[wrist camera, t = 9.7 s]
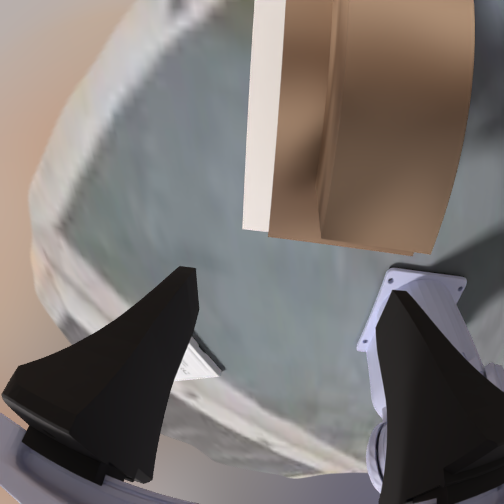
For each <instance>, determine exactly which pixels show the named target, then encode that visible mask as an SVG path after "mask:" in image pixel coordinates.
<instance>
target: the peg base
mask: <svg viewBox="0 0 504 504" xmlns="http://www.w3.org/2000/svg"><path fill="white" fill-rule="evenodd" d="M285 5H286V0H255V5H254V20H253V36H252V53H251V70H250V88H249V106H248V125H247V144H246V165H245V186H244V208H243V229H247V230H256V231H264V232H269V221H270V209H271V198H272V186H273V174H274V162H275V150H276V137H277V124H278V111H279V97H280V83H281V69H282V54H283V39H284V22H285Z"/></svg>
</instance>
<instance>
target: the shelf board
mask: <svg viewBox="0 0 504 504" xmlns="http://www.w3.org/2000/svg"><path fill="white" fill-rule="evenodd" d="M474 46H475V19H474V0H286V5H285V22H284V39H283V54H282V69H281V83H280V97H279V111H278V124H277V137H276V150H275V162H274V174H273V186H272V198H271V209H270V221H269V232H268V237H274V238H282V239H290V240H298V241H305V242H313V243H321V244H328V245H336V246H343V247H351V248H358V249H365V250H372V251H380V252H387V253H394V254H401V255H408V256H413V253H414V252H417V253H424V254H430V255H431V252H432V249H433V247H434V244H435V241H436V238H437V236H438V233H439V230H440V227H441V224H442V221H443V218H444V215H445V212H446V208H447V205H448V202H449V198H450V195H451V191H452V188H453V184H454V180H455V176H456V173H457V168H458V164H459V160H460V156H461V151H462V146H463V141H464V136H465V131H466V125H467V119H468V113H469V106H470V98H471V90H472V80H473V67H474Z"/></svg>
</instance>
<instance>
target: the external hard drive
mask: <svg viewBox="0 0 504 504" xmlns="http://www.w3.org/2000/svg"><path fill="white" fill-rule="evenodd" d="M198 345H199V344H198V343H197V342H196V341H195V339H194V338H193V337H191V339H190V342H189V344H188V347H187V349H186V352H185V354H184V357H183V359H182V362H181V364H180V367H179V369H178V372H177V374H176V377H175V379H174V381H181V380H191V379H201V378H209V377H218V376H221V372H222V371H221V369H220V368H219V367H218V366H217V365H216V364H215V363H214V362H213V360H212V359H211V358H210V357H209V356H208V355H207V354H206V353H204V352H203V351H202V350H201V349H200V348H199V346H198Z"/></svg>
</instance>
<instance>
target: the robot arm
mask: <svg viewBox="0 0 504 504" xmlns="http://www.w3.org/2000/svg"><path fill="white" fill-rule="evenodd" d="M390 278H393V279H392V280H390V281H388V280H389V279H390ZM466 285H467V280H466V278H465V277H460V276H453V275H445V274H438V273H430V272H422V271H415V270H407V269H400V268H390V269H388V270H387V272H386V274H385V277H384V280H383V283H382V285H381V288H380V291H379V293H378V296H377V298H376V301H375V304H374V306H373V309H372V311H371V313H370V316H369V318H368V321H367V323H366V325H365V328H364V330H363V332H362V335H361V337H360V339H359V341H358V343H357V346H356V347H357V350H358V351H362V352H366V354H367V362H368V370H369V378H370V387H371V397H372V403H373V406H374V408H375V410H376V411H377V413H378V414H379V415H380V416H381V417H382V418H383V422H382V423H380V424H378V425H377V426H376V427H375V428H374V429H373V431H372V433H371V435H370V438H369V442H368V445H367V451H366V464H367V470H368V474H369V477H370V480H371V482H372V484H373V485H374V487H375V488H376V490H377V491H379V493H380V498H379V504H504V369H503V367H502V365H498V364H496V365H495V364H494V363H493V362H491V363H489V364H488V365H487V366H485V367H484V365H483V364H482V362H481V359H480V357H479V354H478V352H477V349H476V347H475V344H474V342H473V340H472V337H471V335H470V333H469V330H468V328H467V326H466V324H465V322H464V319H463V317H462V315H461V313H460V311H459V309H458V307H457V305H456V304H457V302H458V300H459V298H460V296H461V294H462V292H463V291H464V289H465V287H466ZM459 287H460V288H459ZM198 312H199V301H198V290H197V278H196V268H190V267H183V266H179V267H178V268H177V269H176V270H175V271H173V272H172V273H171V274H170V275H169V276H168V277H167V278H165V279H164V280H163V281H162V282H161V283H160V284H159V285H158V286H156V287H155V288H154V289H153V290H152V291H151V292H149V293H148V294H147V295H146V296H145V297H144V298H142V299H141V300H140V301H139V302H138V303H136V304H135V305H134V306H132V307H131V308H130V309H129V310H127V311H126V312H125V313H123V314H122V315H121V316H120V317H118V318H117V319H115V320H114V321H112V322H111V323H109V324H108V325H106V326H105V327H103V328H102V329H100V330H99V331H97V332H95V333H93V334H92V335H90V336H88V337H86V338H84V339H83V340H81V341H79V342H77V343H75V344H73V345H71V346H70V347H67V348H65V349H63V350H61V351H59V352H56V353H54V354H51V355H49V356H47V357H44V358H41V359H39V360H36V361H33V362H30V363H27V364H24V365H20V366H18V368H17V369H16V371H15V372H14V374H13V376H12V377H11V379H10V381H9V382H8V384H7V386H6V388H5V389H4V391H3V393H2V398H3V400H4V402H5V403H6V404H7V405H8V406H9V407H10V408H11V409H12V410H13V411H14V412H15V413H16V414H17V415H19V416H20V417H21V418H22V419H23V420H24V421H25V422H26V423H28V425H29V427H28V429H27V431H26V430H25V429H23V428H22V427H21V426H19V425H18V424H16V423H15V422H13V421H12V420H10V419H9V418H8V417H6V416H4V415H3V414H2V413H0V486H1V487H2V488H3V489H5V490H6V491H7V492H8V493H9V494H10V495H11V496H12V497H14V498H15V499H16V500H17V501H18V502H19V503H20V504H198V503H193V502H189V501H184V500H180V499H177V498H173V497H169V496H165V495H162V494H159V493H155V492H152V491H149V490H146V489H143V488H139V487H137V486H134V485H131V484H128V483H125V482H123V481H124V479H125V480H128V481H130V482H134V481H137V482H140V483H143V484H144V483H147V482H150V481H151V480H152V479H153V471H154V464H155V458H156V452H157V447H158V442H159V436H160V431H161V427H162V423H163V418H164V414H165V410H166V406H167V402H168V398H169V394H170V391H171V388H172V385H173V382H174V379H175V377H176V374H177V372H178V369H179V367H180V364H181V362H182V359H183V357H184V354H185V352H186V349H187V347H188V344H189V342H190V339H191V337H192V334H193V331H194V327H195V324H196V320H197V316H198Z"/></svg>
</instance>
